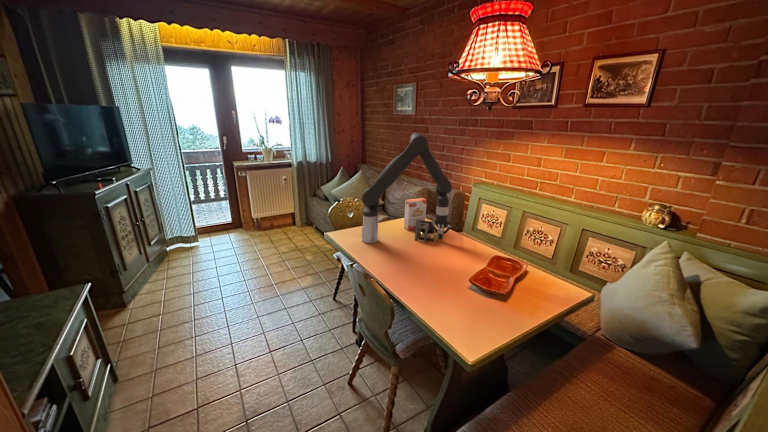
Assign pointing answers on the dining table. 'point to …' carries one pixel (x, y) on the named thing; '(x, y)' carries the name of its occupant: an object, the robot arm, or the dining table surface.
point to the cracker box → (414, 212)
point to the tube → (428, 235)
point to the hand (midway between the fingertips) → (440, 239)
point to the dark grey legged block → (423, 228)
